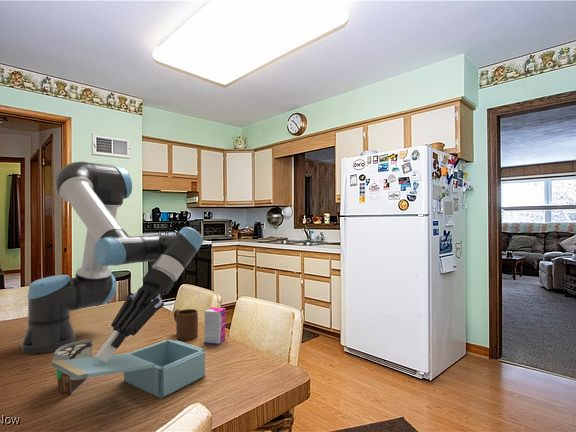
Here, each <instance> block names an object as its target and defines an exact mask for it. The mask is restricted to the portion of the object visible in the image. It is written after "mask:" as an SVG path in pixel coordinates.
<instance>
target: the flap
mask: <svg viewBox="0 0 576 432" xmlns="http://www.w3.org/2000/svg"><path fill="white" fill-rule="evenodd" d="M154 366H155V364H154V363H151V362H149V361H146V360H143V359H141V358H138V357H136V356H133V355H131V354H128V352H126V353H116V354H113V355H112V356H111V358H110V359H109V360H108V362H107V363H105V362H103V361H101V360H100V359H98V358H97V357H95V356H91V357H88V358H78V359H69V360H58V361H53V360H52V361H51V364H50V367H52V368H55V369H58V370H60V371H62V372H63V373H65V374H67V375H69V376H71V377H72V378H74V379H76V380H79V379H85V378H89V379H90V378H96V377H102V376H107V375H108V376H109V375H114V374H121V373H124V372H128V371H135V370H141V369H147V368H154Z"/></svg>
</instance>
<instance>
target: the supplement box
mask: <svg viewBox="0 0 576 432" xmlns="http://www.w3.org/2000/svg"><path fill="white" fill-rule="evenodd" d="M226 314H227V313H226V307H214V306H212V307H210V308H208V309H206V310H205V311H204V328H203V329H204V333H203V334H204V335H203V337H204V339H203V344H204V345H214V346H215V345H216V346H219V345H220V344H221V343H223V342H224V340H226Z"/></svg>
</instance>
